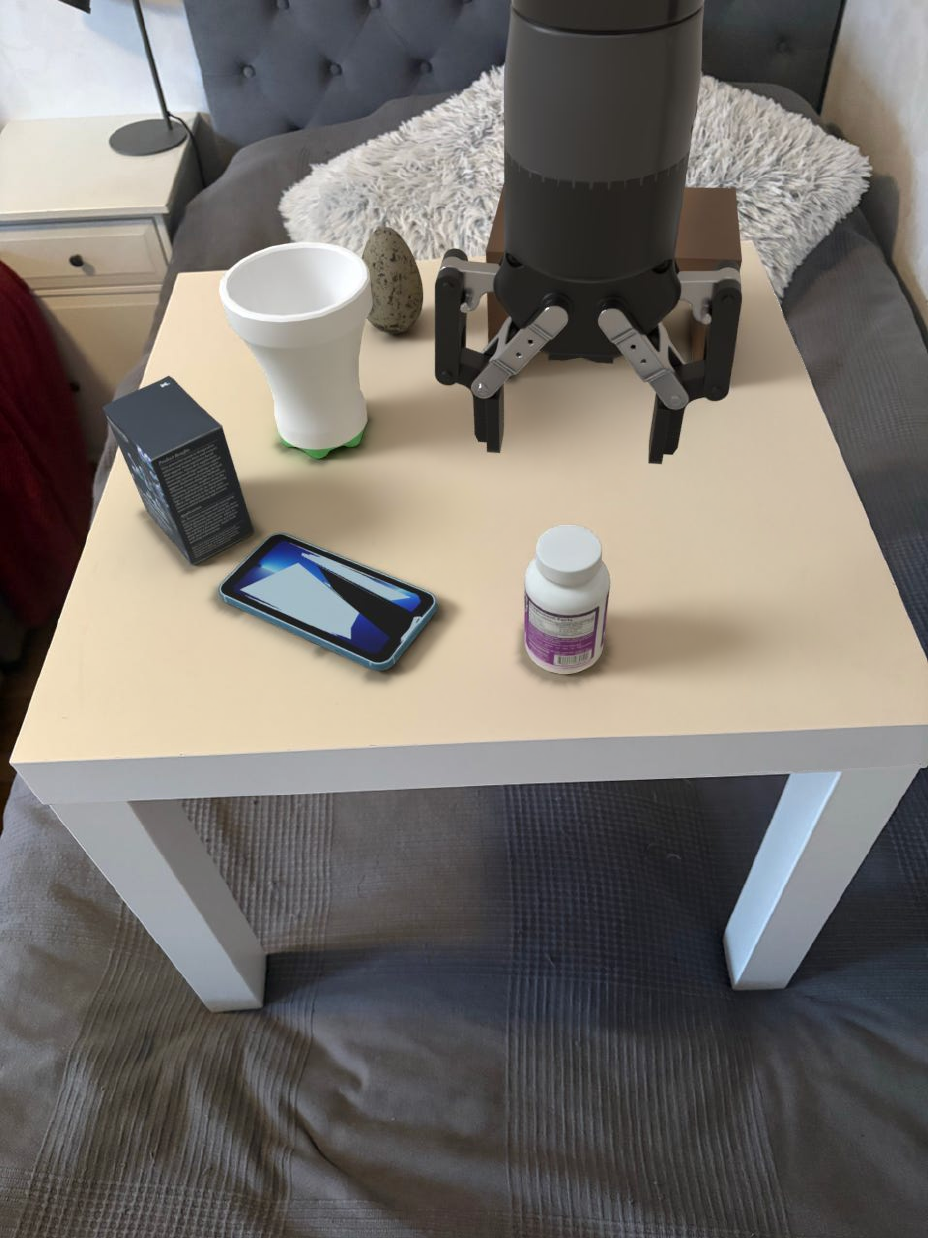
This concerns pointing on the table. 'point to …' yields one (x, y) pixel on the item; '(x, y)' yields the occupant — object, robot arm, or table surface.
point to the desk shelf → (699, 248)
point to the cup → (305, 337)
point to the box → (181, 468)
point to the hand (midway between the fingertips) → (574, 448)
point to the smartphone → (330, 600)
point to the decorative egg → (392, 282)
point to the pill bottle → (566, 600)
